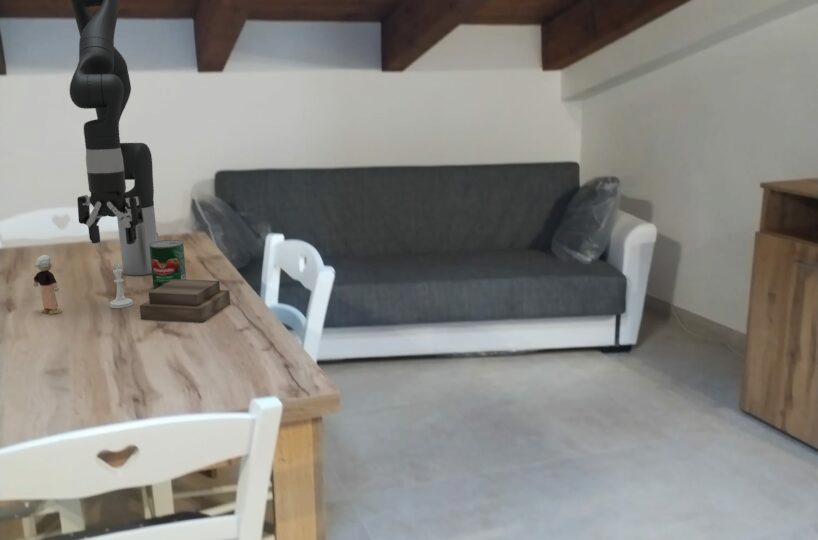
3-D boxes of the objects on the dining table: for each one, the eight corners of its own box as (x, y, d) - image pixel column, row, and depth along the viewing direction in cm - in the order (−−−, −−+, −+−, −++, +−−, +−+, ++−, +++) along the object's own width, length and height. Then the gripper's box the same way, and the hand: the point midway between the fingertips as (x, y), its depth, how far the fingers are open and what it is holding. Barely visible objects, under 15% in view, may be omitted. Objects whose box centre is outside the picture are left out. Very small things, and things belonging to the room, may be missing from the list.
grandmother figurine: (70, 310, 175) (63, 254, 172) (58, 315, 172) (50, 258, 169) (43, 307, 178) (35, 252, 175) (29, 312, 174) (21, 256, 171)
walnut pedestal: (173, 300, 182) (170, 276, 180) (230, 302, 179) (228, 279, 177) (140, 319, 168) (138, 294, 167) (202, 322, 166) (200, 297, 164)
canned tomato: (155, 293, 187) (150, 248, 184) (151, 285, 194) (146, 241, 191) (189, 289, 190) (185, 244, 188) (184, 281, 197) (180, 238, 195)
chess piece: (125, 308, 176) (120, 264, 174) (105, 307, 177) (100, 264, 175) (137, 302, 181) (132, 259, 178) (117, 301, 182) (112, 258, 179)
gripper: (144, 167, 173) (151, 240, 177) (86, 167, 176) (94, 239, 180) (125, 172, 166) (133, 247, 170) (65, 171, 169) (74, 246, 173)
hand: (113, 243), depth 175 cm, fingers open, 8 cm apart
